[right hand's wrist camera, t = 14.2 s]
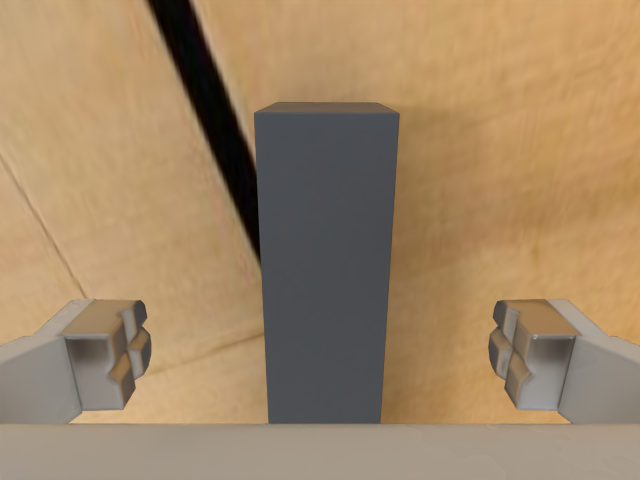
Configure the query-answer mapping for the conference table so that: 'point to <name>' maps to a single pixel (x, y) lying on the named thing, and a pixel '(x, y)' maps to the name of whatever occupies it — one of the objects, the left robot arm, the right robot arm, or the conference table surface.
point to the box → (325, 256)
